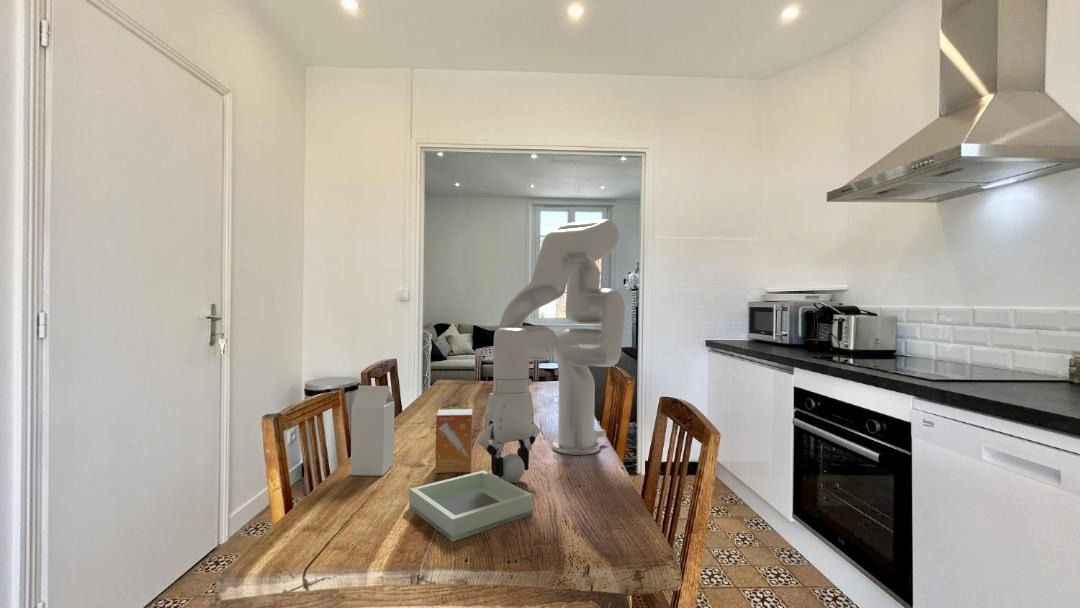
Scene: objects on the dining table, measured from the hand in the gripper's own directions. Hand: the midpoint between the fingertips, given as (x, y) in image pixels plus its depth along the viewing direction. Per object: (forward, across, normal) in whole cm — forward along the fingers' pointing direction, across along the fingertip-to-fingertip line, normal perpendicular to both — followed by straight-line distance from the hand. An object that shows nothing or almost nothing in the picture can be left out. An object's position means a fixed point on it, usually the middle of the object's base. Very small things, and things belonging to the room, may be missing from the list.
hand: (510, 471), depth 98 cm
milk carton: (+3, +20, -25) cm, 32 cm away
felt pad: (+2, +14, +7) cm, 16 cm away
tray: (+2, +14, +7) cm, 16 cm away
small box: (+3, +5, -15) cm, 16 cm away
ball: (-1, 0, 0) cm, 1 cm away
